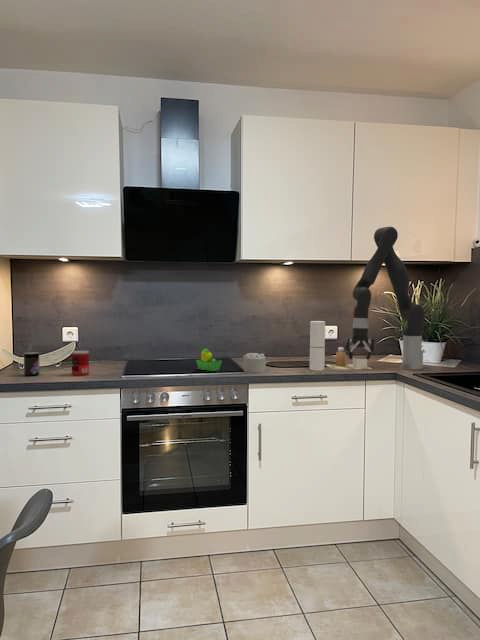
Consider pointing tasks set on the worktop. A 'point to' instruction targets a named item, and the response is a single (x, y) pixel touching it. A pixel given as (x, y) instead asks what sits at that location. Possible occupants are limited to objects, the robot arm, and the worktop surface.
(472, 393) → the worktop surface
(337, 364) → the bottle
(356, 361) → the white minus sign cube
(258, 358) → the lumpy-topped squat cylinder
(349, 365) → the board
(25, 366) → the supplement container
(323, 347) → the cylindrical container
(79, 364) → the canned food
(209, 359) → the fruit basket
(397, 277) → the robot arm
